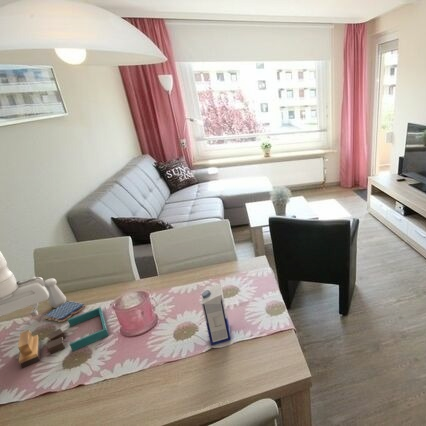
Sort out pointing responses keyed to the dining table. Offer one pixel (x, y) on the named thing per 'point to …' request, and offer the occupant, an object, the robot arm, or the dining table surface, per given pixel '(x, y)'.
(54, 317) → the woven mat
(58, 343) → the chip
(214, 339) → the milk carton
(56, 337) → the chip
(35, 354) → the brush
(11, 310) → the robot arm
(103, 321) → the corral
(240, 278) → the dining table surface
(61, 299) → the salt shaker
